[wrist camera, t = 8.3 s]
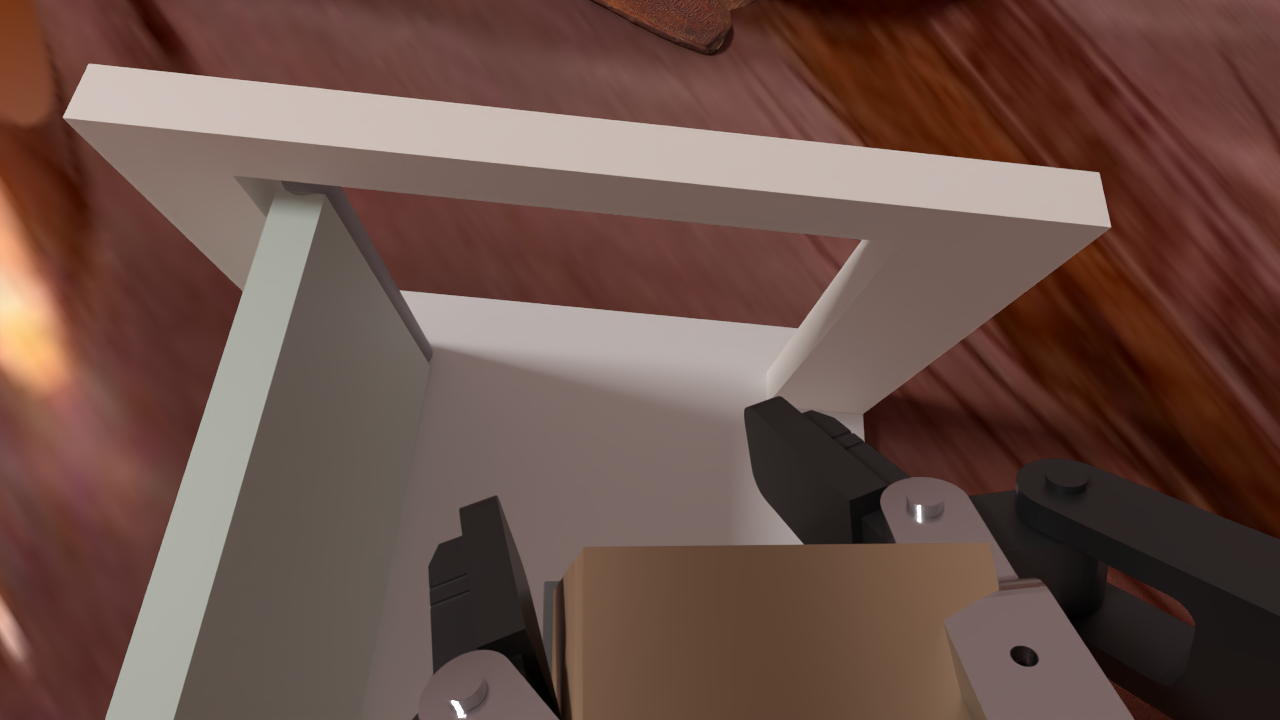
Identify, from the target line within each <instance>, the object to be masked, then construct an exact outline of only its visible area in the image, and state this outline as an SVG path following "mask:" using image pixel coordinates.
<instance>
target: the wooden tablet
mask: <svg viewBox="0 0 1280 720" xmlns="http://www.w3.org/2000/svg"><path fill="white" fill-rule="evenodd" d="M592 1H594V2H596V3H598V4H600V5H602V6H604V7H606V8H607V9H609V10H611V11H613V12H615V13H617V14H618V15H620V16H622V17H624V18H625V19H627V20H629V21H631V22H632V23H634V24H637V25H639V26H641V27H643V28H645V29H646V30H648V31H650V32H652V33H654V34H656V35H658V36H660V37H663V38H665V39H667V40H669V41H671V42H673V43H675V44H678V45H680V46H683V47H686V48H688V49H692V50H694V51H697V52H699V53H702V54H711V53H713V52H715V51H716V50H718V49H719V48H720V46H721V45H722V43H723V41H724V39H725V38H726V36H727V34H728V32H729V30H730V29H731V26H732V21H731V16H730V11H731V10H732V9H734V8H739V7H742V6H746V5H748V4H750V3H752V2H754V1H755V0H592Z"/></svg>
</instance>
